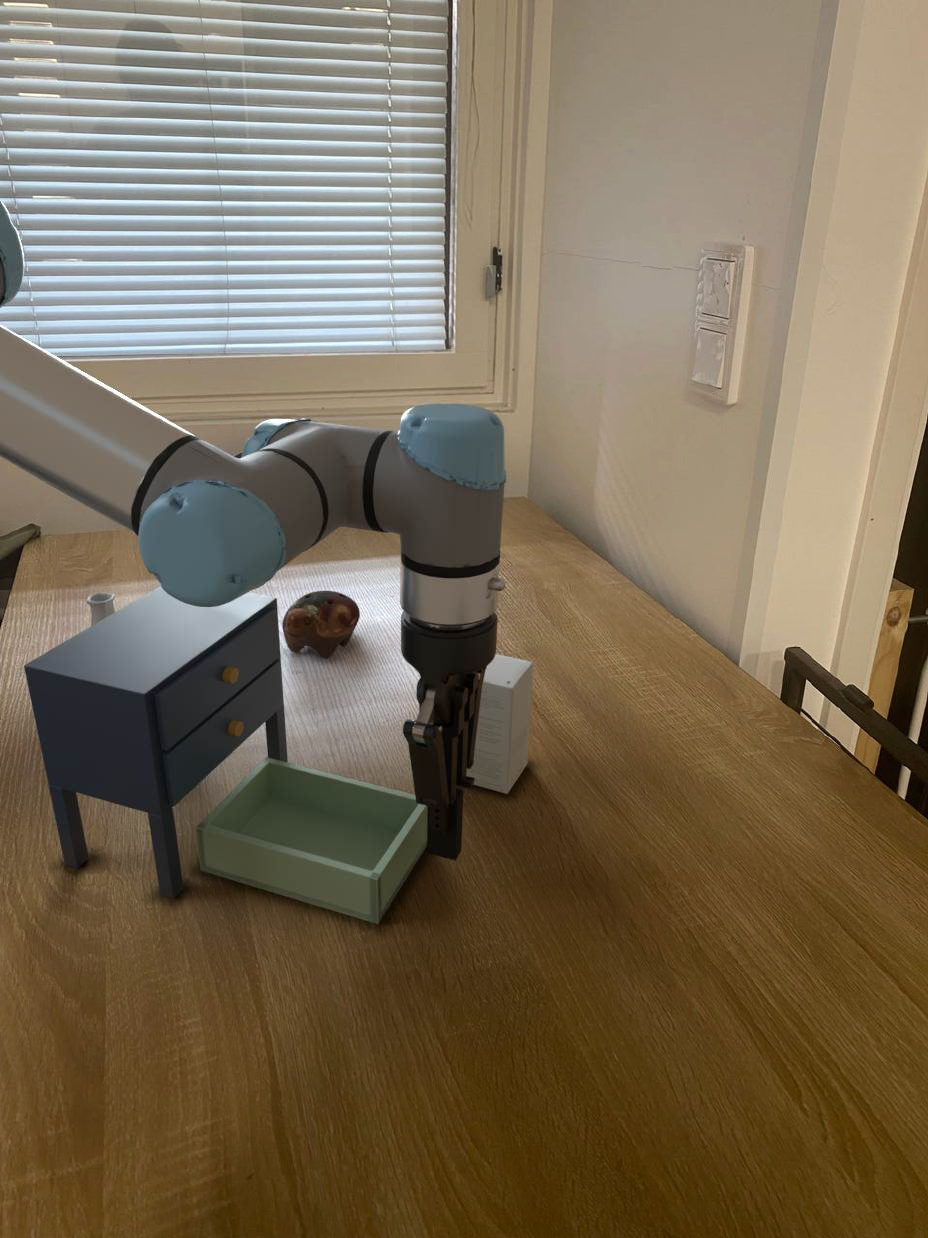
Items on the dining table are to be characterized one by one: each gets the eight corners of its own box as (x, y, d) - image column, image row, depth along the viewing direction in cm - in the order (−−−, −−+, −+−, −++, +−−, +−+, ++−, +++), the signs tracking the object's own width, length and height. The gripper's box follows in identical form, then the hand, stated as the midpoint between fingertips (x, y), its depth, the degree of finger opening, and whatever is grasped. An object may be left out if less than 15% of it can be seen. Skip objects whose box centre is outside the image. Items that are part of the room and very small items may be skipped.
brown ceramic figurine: (264, 666, 119) (259, 609, 116) (315, 625, 132) (311, 573, 129) (332, 675, 116) (328, 617, 113) (377, 633, 130) (374, 579, 127)
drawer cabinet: (64, 864, 84) (23, 665, 75) (194, 751, 101) (173, 577, 92) (187, 903, 80) (159, 698, 71) (300, 779, 97) (289, 600, 88)
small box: (528, 764, 101) (535, 661, 95) (507, 796, 95) (513, 688, 90) (461, 746, 103) (464, 644, 98) (437, 776, 98) (439, 670, 92)
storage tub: (200, 870, 84) (195, 827, 82) (269, 797, 94) (266, 756, 92) (378, 924, 78) (377, 879, 76) (430, 840, 89) (431, 798, 86)
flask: (124, 684, 114) (113, 612, 109) (70, 678, 115) (57, 606, 110) (151, 657, 120) (141, 588, 116) (100, 651, 121) (88, 583, 117)
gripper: (466, 656, 64) (457, 912, 74) (520, 587, 75) (507, 818, 85) (368, 637, 66) (374, 888, 76) (435, 572, 77) (432, 799, 87)
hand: (444, 851), depth 80 cm, fingers closed
